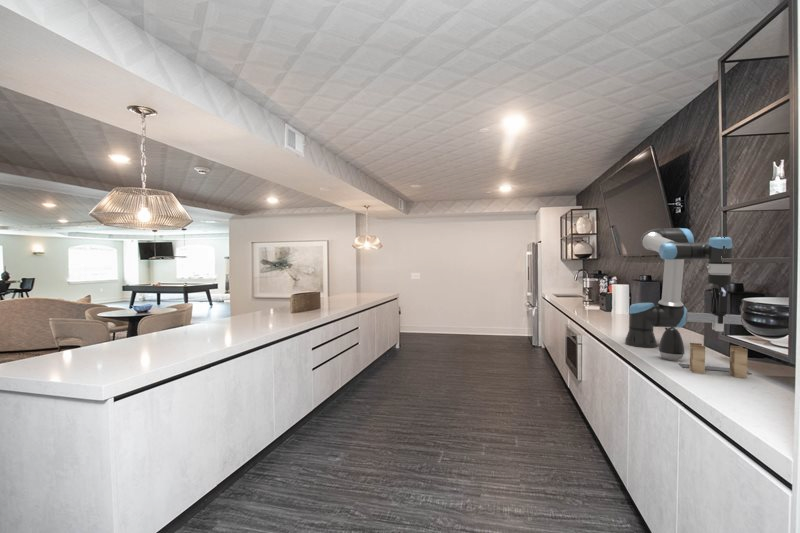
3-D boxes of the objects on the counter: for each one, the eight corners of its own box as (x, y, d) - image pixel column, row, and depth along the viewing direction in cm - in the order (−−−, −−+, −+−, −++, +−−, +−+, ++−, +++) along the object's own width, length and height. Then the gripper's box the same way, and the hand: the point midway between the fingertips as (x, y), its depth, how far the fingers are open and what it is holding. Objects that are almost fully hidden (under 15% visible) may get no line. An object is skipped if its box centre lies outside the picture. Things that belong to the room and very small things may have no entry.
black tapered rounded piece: (676, 357, 197) (676, 326, 197) (689, 362, 187) (690, 329, 186) (654, 356, 198) (654, 325, 198) (665, 361, 188) (666, 329, 187)
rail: (685, 320, 174) (685, 312, 174) (749, 324, 165) (749, 315, 165) (687, 321, 171) (687, 313, 171) (752, 325, 163) (753, 316, 162)
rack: (689, 369, 174) (689, 342, 174) (741, 374, 167) (742, 346, 167) (693, 372, 169) (693, 345, 169) (746, 378, 162) (747, 349, 162)
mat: (678, 364, 183) (678, 363, 183) (744, 370, 174) (744, 369, 174) (682, 367, 177) (682, 367, 177) (751, 374, 167) (751, 373, 167)
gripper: (702, 273, 176) (701, 326, 177) (714, 274, 162) (713, 333, 162) (723, 273, 174) (722, 328, 174) (738, 275, 159) (736, 334, 159)
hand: (717, 330), depth 168 cm, fingers closed on rail, 3 cm apart
